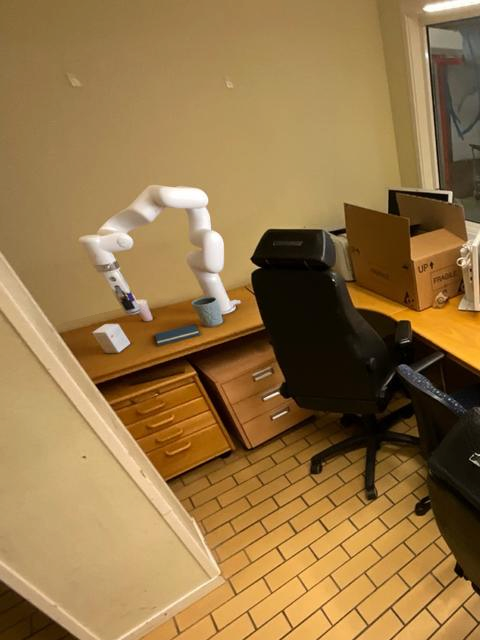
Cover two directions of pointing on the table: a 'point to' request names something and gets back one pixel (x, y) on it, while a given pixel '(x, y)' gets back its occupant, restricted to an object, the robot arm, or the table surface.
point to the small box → (111, 338)
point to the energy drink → (137, 309)
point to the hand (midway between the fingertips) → (130, 306)
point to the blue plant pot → (208, 311)
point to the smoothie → (143, 309)
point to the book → (176, 334)
